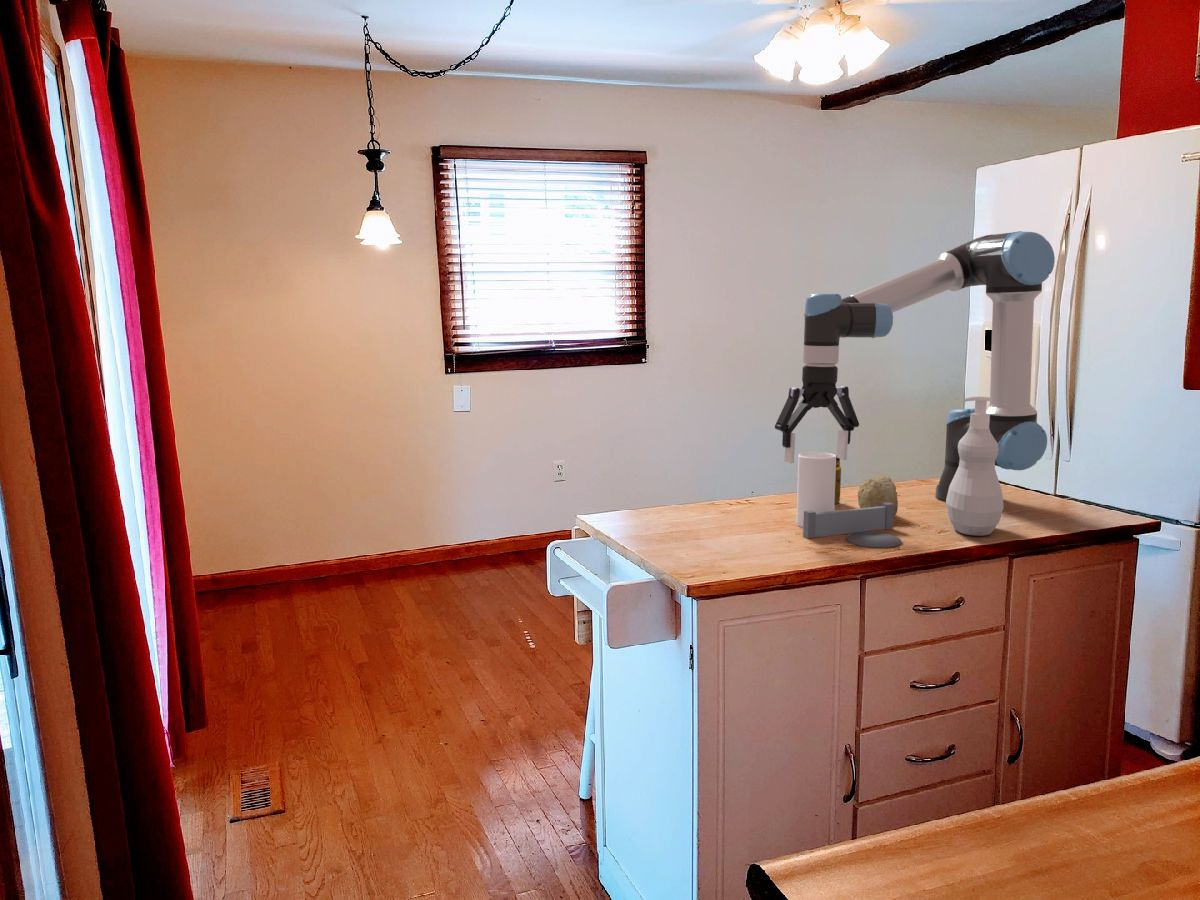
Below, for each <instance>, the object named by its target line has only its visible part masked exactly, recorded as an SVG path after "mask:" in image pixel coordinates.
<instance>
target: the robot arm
mask: <svg viewBox="0 0 1200 900" xmlns="http://www.w3.org/2000/svg"><path fill="white" fill-rule="evenodd" d="M1055 259H1056V258H1055V253H1054V249H1053V247H1052V244H1051V243H1050V241H1048V240H1047V239H1046V237H1045V236H1043V235H1042V234H1040V233H1037V232H1035V231H1021V230H1019V231H1013V232H1006V233H996V234H988V235H983V236H980V237H976V238H975V239H973V240H972V239H971V240H970V241H967V242H965V243H963V244H960V245H959V246H956V247H955V248H952V249H950V250H947V251H945V252H942V253H940V254H939V256H938V257H937V259H936V260H934V261H931V262H929V263H927V264H925V265H922V266H919V267H917V268H914V269H912V270H910V271H907V272H905V273H903V274H900V275H896V276H895V277H892V278H890V279H888V280H885V281H883V282H880V283H878V284H875V285H873V286H870V287H868V288H866V289H863V290H861V291H858V292H855V293H854V294H851V295H849V296H846V297H844V298H842V296H841V294H840V293H810V294H809V295H807V297H806V299H805V306H804V307H805V308H804V315H803V316H804V330H803V331H804V332H803V351H802V352H803V355H802V362H803V363H804V364H805V365H803V366H802V369H801V370H802V371H801V372H802V374H801V376H802V377H801V381H802V382H801V383H802V387H801V388H799V387H793V386H791V387H790V388H788V389H789V390H788V395H787V397H788V398H787V399H786V401H785V403H784V405H783V408H782V409H781V412H780V414H779V416H778V418H777V420H776V423H775V424H774V429H775V430H777V431H780V432H781V433H782V443H781V445H782V447H783V448H784V462H786V463H789V464H794V463H795V449H796V446H795V445H796V433H794V432H793V431H794V430H795V428H796V427H797V426H798V424H800V422H801V421H802V420H803V418H804V417H805V416H806V414H807V413H808V411H810V410H811V409H812V408H813V409H818V408H826V409H828V410H829V412H830V414H831V415H832V416H833V417H834V419H835V420H836V422H837V423H838V425H839V426H840V427H841V429H840V428H839V429H837V430H838V431H837V443H836V444H837V446H836V447H837V448H836V455H837V458H839V459H840V460H843V461H845V460H848V458H847V457H848V445H849V444H850V443H851V435H852V433H851V432H852V431H854V430H855V428H858V427H859V426H860V422H859V420H858V417H857V415H856V412H855V409H854V406H853V403H852V401H851V398H850V394H849V391H850V390H849V387H848V386H845V385H838V386H837V385H836V384H837V382H838V372H839V369H838V366H836V365H837V364H838V363H839V359H840V358H839V353H840V338H872V339H875V338H883V337H886V336H887V335H889V334H890V332H891V330H892V327H893V323H894V315H893V313H896V312H898V311H900V310H902V309H905V308H908V307H909V306H913V305H915V304H917V303H919V302H922V301H925V300H927V299H929V298H932V297H935V296H936V295H939V294H942V293H944V292H947V291H950V292H958V291H960V290H963V289H965V288H969V287H977V286H985V295H986V296H987V297H988V298H989V299H990V300H991V301H992V315H991V316H992V318H991V319H992V320H991V321H992V322H991V348H990V349H991V354H990V356H991V357H990V384H989V385H990V386H989V387H990V388H989V390H990V391H989V398H990V399H991V400H990V401H989V404H987V406H986V414H990V421H989V428H990V432H991V434H992V436H993V437H994V439H995V440H996V442H997V443H998V448H999V451H998V455H997V458H996V460H995V467H999V468H1001V469H1005V470H1008V471H1009V470H1012V471H1024V470H1028V469H1030V468H1032V467H1033V466H1035V465H1036V464H1037V463H1038V461H1040V460H1041V459H1042V458H1043V456H1044V454H1045V452H1046V450H1047V447H1048V435H1047V432H1046V430H1044V429H1043V426H1042V425H1040V424H1039V423H1038V410H1037V409H1036V408H1035V407H1033V406H1032V404H1031V395H1032V394H1031V390H1032V368H1033V367H1032V364H1033V360H1032V358H1033V341H1034V340H1033V337H1034V336H1033V335H1034V312H1035V311H1034V307H1035V299H1036V298H1037V297H1039V295H1041V293H1042V292H1043V282H1044V281H1047V279H1049V275H1051V274H1052V272H1053V270H1054V267H1055V262H1056V261H1055ZM836 396H837V398H838V401H839V403H840V407H841V408H840V407H839V404H838V402H837V401H836V399H835V397H836ZM801 397H802V399H801V400H800V402H799V399H800V398H801ZM798 402H799V403H798ZM797 404H798V406H797ZM796 406H797V407H796ZM795 408H796V409H795ZM841 409H842V410H841ZM971 413H975V408H955V409H952V410H950V411H949V412H948V415H947V418H946V423H945V426H946V434H945V453H944V454H945V455H944V467H943V470H942V473H941V476H940V478H939V481H938V484H937V485H936V487H935V498H937V499H938V500H941V501H944V502H946V498H947V494H948V490H949V486H950V484H951V482H952V480H953V478H954V475H955V473H956V471H957V469H958V467H959V462H960V457H959V453H958V443H959V441H960V440H961V438H962V437H963V436H964V435H965V434H966V433H967V431H968V429H969V427H970V414H971Z"/></svg>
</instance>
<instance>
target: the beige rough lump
mask: <svg viewBox="0 0 1200 900" xmlns="http://www.w3.org/2000/svg"><path fill="white" fill-rule="evenodd" d="M857 500H858V501H857V502H858V506H859V508H868V507H878V506H882V503H888V502H889V503H892V504H894V514H893V517H895V516H896V515H897V513H898V508H899V506H898V505H899V501H898V492H897V487H896V485H895V483H894V482H893V480H892V478H891V477H890V476H879V477H876V478H875V477H874V478H871V479H868V480H864V481H863V482H862V483H861V484H860V485H859V487H858V491H857Z"/></svg>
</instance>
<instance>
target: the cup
mask: <svg viewBox="0 0 1200 900" xmlns="http://www.w3.org/2000/svg"><path fill="white" fill-rule="evenodd" d="M836 455H837V454H834V453H830V452H824V451H807V452H804V451H803V452H801V453H798V456H797V457H798V459H797V486H796V487H797V488H796V489H797V491H796V492H797V493H796V520H795V521H796V523H795V524H796V525H797V526H798V527H800V528H803V524H804V511H809V510H812V511H814V512H816V513H820V512H829V511H835V506H834V503H835V477H836Z"/></svg>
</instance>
